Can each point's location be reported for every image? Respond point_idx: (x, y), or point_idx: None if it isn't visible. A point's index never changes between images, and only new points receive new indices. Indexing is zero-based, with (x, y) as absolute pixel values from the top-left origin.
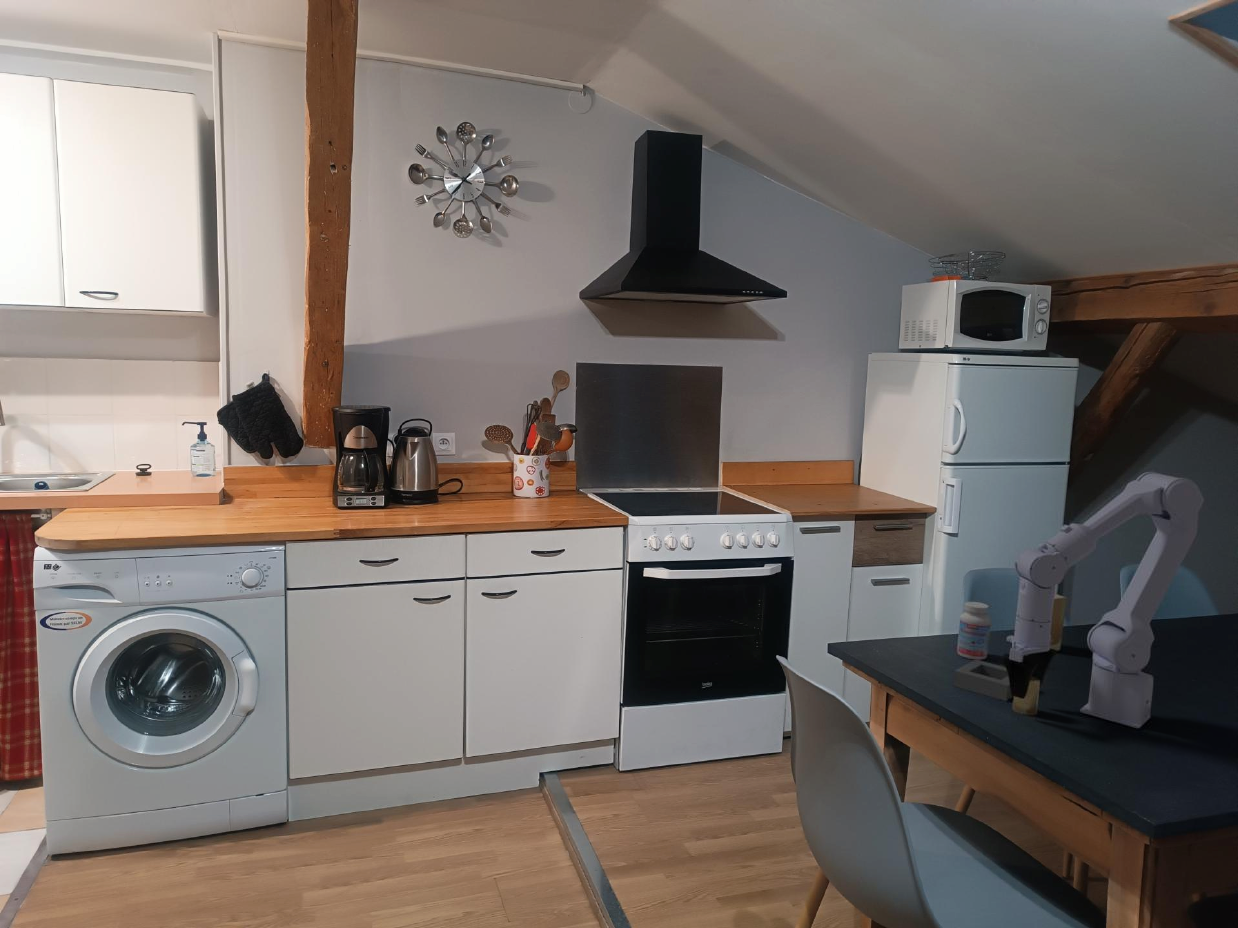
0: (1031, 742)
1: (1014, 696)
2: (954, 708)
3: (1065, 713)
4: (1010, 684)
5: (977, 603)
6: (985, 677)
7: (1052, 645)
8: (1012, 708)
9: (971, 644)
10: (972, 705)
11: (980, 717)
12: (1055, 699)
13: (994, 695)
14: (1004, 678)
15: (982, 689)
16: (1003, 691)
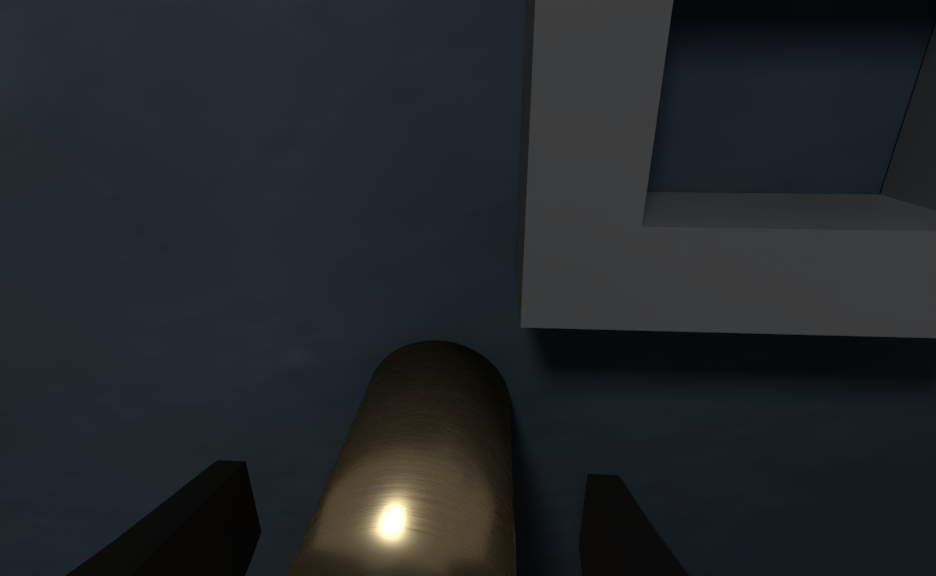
0: (56, 532)
1: (366, 413)
2: (21, 51)
3: None
4: (133, 530)
5: None
6: (603, 69)
7: None
8: (400, 349)
9: None
10: (214, 128)
11: (72, 258)
12: (810, 470)
13: (519, 187)
14: (728, 234)
15: (524, 76)
16: (519, 272)
